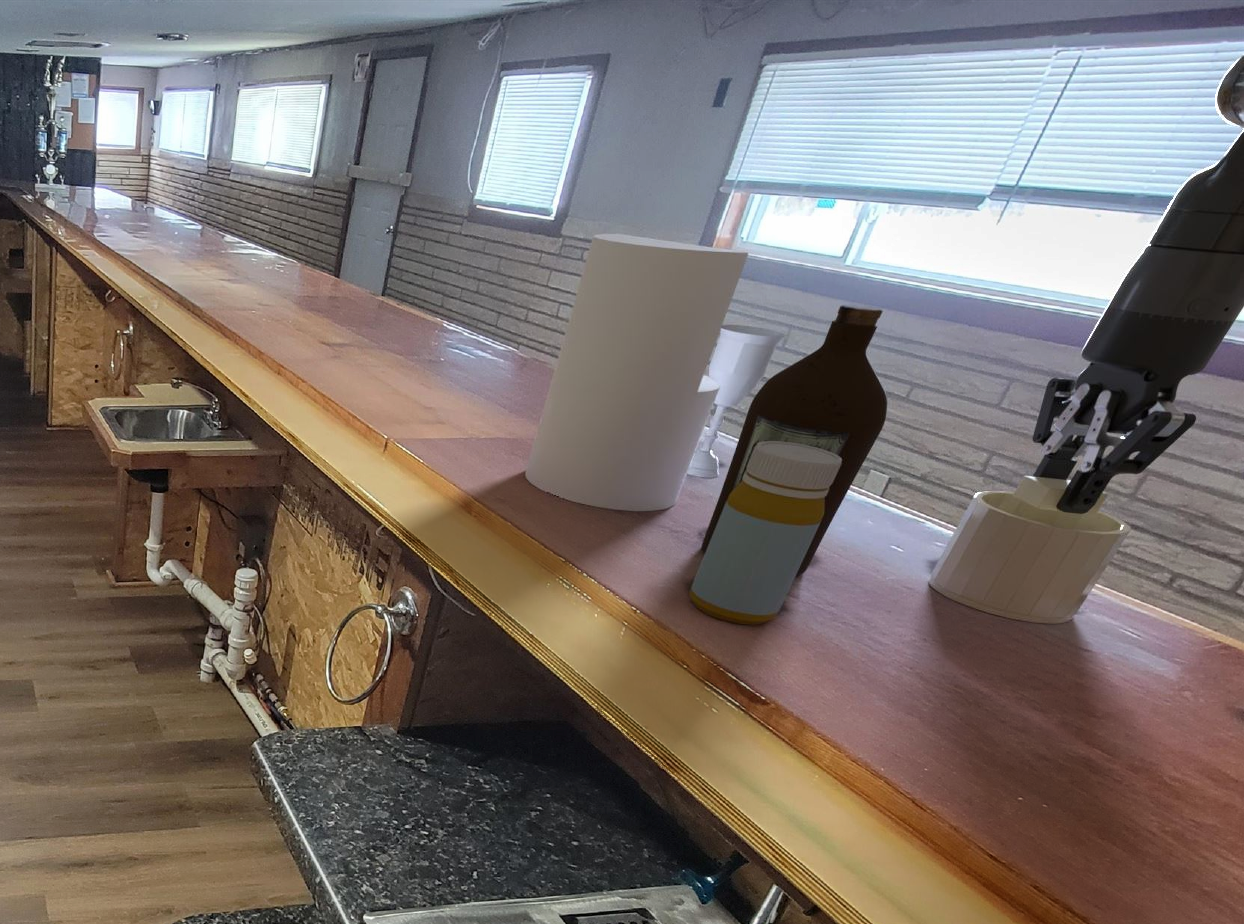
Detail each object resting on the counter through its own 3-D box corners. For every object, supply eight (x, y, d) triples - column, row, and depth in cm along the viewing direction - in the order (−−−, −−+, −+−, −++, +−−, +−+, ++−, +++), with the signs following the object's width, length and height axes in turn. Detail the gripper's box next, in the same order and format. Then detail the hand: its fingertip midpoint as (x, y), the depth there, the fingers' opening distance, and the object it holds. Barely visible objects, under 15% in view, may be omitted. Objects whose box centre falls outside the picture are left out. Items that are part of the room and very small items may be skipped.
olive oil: (712, 531, 101) (809, 294, 89) (824, 562, 94) (945, 311, 82) (679, 555, 95) (778, 303, 82) (796, 590, 88) (923, 322, 76)
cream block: (1068, 501, 85) (1080, 480, 84) (1096, 514, 82) (1109, 493, 81) (1012, 495, 86) (1023, 475, 85) (1037, 508, 83) (1050, 488, 82)
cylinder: (593, 516, 104) (682, 252, 90) (495, 467, 118) (559, 232, 104) (710, 505, 108) (812, 253, 94) (602, 460, 123) (677, 234, 109)
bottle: (767, 602, 85) (838, 447, 78) (780, 634, 80) (858, 470, 72) (683, 586, 88) (744, 435, 80) (690, 616, 82) (757, 456, 75)
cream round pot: (1024, 581, 92) (1075, 498, 88) (1102, 630, 83) (1163, 540, 79) (905, 568, 94) (949, 485, 90) (969, 614, 85) (1021, 525, 80)
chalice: (741, 479, 118) (800, 336, 109) (697, 481, 116) (753, 336, 107) (697, 461, 124) (750, 324, 115) (655, 463, 123) (705, 324, 114)
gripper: (1304, 327, 69) (1161, 537, 77) (1157, 299, 81) (1047, 483, 89) (1188, 319, 70) (1060, 527, 78) (1060, 292, 82) (961, 475, 90)
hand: (1054, 502), depth 84 cm, fingers closed on cream block, 3 cm apart
